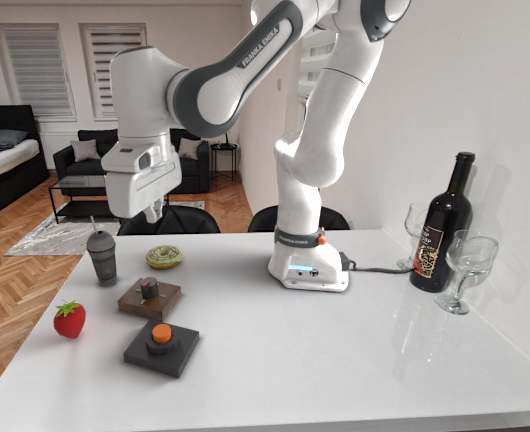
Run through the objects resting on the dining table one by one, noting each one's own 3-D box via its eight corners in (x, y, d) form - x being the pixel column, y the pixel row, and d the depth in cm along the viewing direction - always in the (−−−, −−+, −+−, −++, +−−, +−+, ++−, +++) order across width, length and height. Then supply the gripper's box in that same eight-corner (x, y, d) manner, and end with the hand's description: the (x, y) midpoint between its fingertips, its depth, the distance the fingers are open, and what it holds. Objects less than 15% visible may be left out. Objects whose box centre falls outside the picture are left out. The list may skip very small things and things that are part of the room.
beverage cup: (113, 291, 80) (100, 223, 72) (88, 288, 82) (73, 221, 73) (126, 275, 87) (116, 211, 79) (103, 272, 88) (91, 209, 80)
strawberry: (53, 352, 62) (41, 314, 58) (68, 325, 69) (58, 289, 65) (82, 350, 63) (72, 313, 59) (94, 324, 70) (86, 288, 66)
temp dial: (147, 286, 77) (145, 274, 76) (161, 289, 76) (159, 277, 75) (138, 296, 74) (136, 283, 72) (153, 299, 73) (151, 286, 71)
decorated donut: (188, 264, 92) (187, 253, 91) (154, 275, 87) (153, 264, 85) (173, 249, 100) (172, 239, 99) (141, 259, 95) (140, 248, 93)
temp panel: (181, 295, 79) (181, 285, 77) (163, 322, 70) (161, 311, 69) (141, 286, 82) (140, 277, 81) (119, 310, 74) (117, 300, 72)
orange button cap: (174, 332, 62) (173, 326, 62) (165, 345, 59) (165, 339, 59) (158, 328, 63) (158, 322, 63) (149, 341, 60) (148, 334, 60)
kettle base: (199, 339, 65) (198, 324, 64) (179, 378, 57) (177, 363, 55) (150, 326, 69) (149, 312, 67) (124, 361, 60) (121, 346, 59)
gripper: (159, 139, 64) (165, 200, 70) (93, 162, 46) (108, 241, 52) (186, 140, 62) (190, 202, 68) (128, 165, 44) (141, 247, 50)
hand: (154, 220), depth 60 cm, fingers closed
